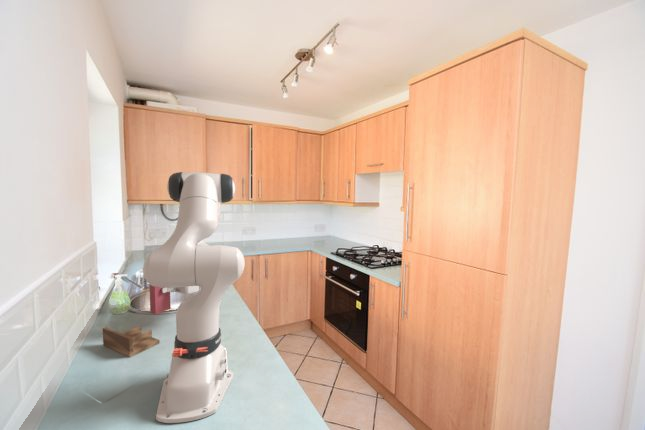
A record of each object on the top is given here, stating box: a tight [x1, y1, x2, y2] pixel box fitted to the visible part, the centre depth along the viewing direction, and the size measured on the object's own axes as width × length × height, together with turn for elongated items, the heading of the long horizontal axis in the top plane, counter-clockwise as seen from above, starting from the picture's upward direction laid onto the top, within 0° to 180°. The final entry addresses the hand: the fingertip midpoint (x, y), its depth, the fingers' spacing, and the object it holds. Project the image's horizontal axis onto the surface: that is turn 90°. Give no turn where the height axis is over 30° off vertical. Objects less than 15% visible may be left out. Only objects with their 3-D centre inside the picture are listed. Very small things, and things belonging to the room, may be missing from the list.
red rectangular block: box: [148, 283, 172, 315], centre depth 109 cm, size 6×3×15 cm, turn 153°
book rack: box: [102, 325, 160, 358], centre depth 100 cm, size 10×16×6 cm, turn 63°
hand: (157, 289), depth 108 cm, fingers closed on red rectangular block, 3 cm apart
